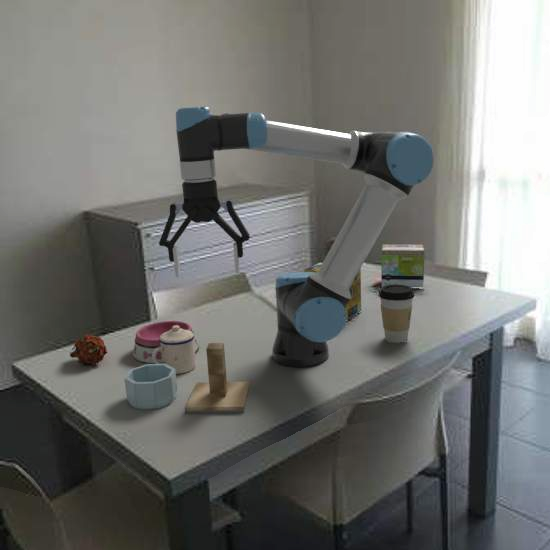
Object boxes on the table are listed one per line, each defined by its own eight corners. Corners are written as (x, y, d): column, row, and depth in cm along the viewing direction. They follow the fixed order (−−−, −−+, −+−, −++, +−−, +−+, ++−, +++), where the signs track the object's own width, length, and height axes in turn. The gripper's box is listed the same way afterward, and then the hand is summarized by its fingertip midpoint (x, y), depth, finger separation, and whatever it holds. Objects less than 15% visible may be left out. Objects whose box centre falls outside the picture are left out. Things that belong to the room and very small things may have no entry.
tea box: (381, 289, 223) (381, 249, 220) (381, 282, 233) (381, 243, 229) (424, 289, 221) (424, 249, 217) (422, 282, 230) (422, 243, 227)
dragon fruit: (101, 374, 165) (80, 369, 174) (120, 349, 169) (98, 345, 178) (79, 356, 161) (58, 351, 169) (99, 330, 165) (78, 327, 173)
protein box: (348, 322, 192) (347, 273, 188) (305, 315, 200) (303, 269, 196) (362, 312, 200) (361, 265, 196) (320, 306, 208) (318, 261, 204)
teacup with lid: (185, 358, 169) (181, 318, 166) (203, 367, 163) (200, 326, 160) (146, 371, 162) (141, 329, 159) (163, 381, 155) (158, 338, 152)
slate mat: (249, 386, 150) (249, 384, 150) (243, 412, 137) (243, 409, 137) (196, 387, 151) (196, 385, 151) (186, 413, 138) (185, 410, 138)
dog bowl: (159, 370, 163) (157, 346, 161) (119, 354, 175) (117, 332, 173) (212, 349, 176) (210, 326, 174) (171, 336, 188) (169, 314, 186)
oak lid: (249, 384, 150) (246, 335, 146) (243, 409, 137) (240, 356, 134) (196, 385, 151) (192, 336, 147) (186, 410, 138) (181, 357, 135)
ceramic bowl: (180, 388, 151) (178, 363, 149) (170, 409, 140) (167, 383, 139) (136, 388, 152) (133, 364, 150) (123, 409, 141) (120, 383, 140)
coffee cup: (420, 337, 176) (421, 287, 172) (402, 348, 169) (402, 295, 165) (391, 330, 182) (391, 282, 178) (371, 340, 175) (371, 290, 171)
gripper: (256, 174, 139) (262, 265, 144) (146, 181, 139) (156, 272, 145) (255, 178, 131) (262, 274, 137) (138, 185, 132) (150, 280, 137)
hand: (207, 273), depth 141 cm, fingers open, 13 cm apart
